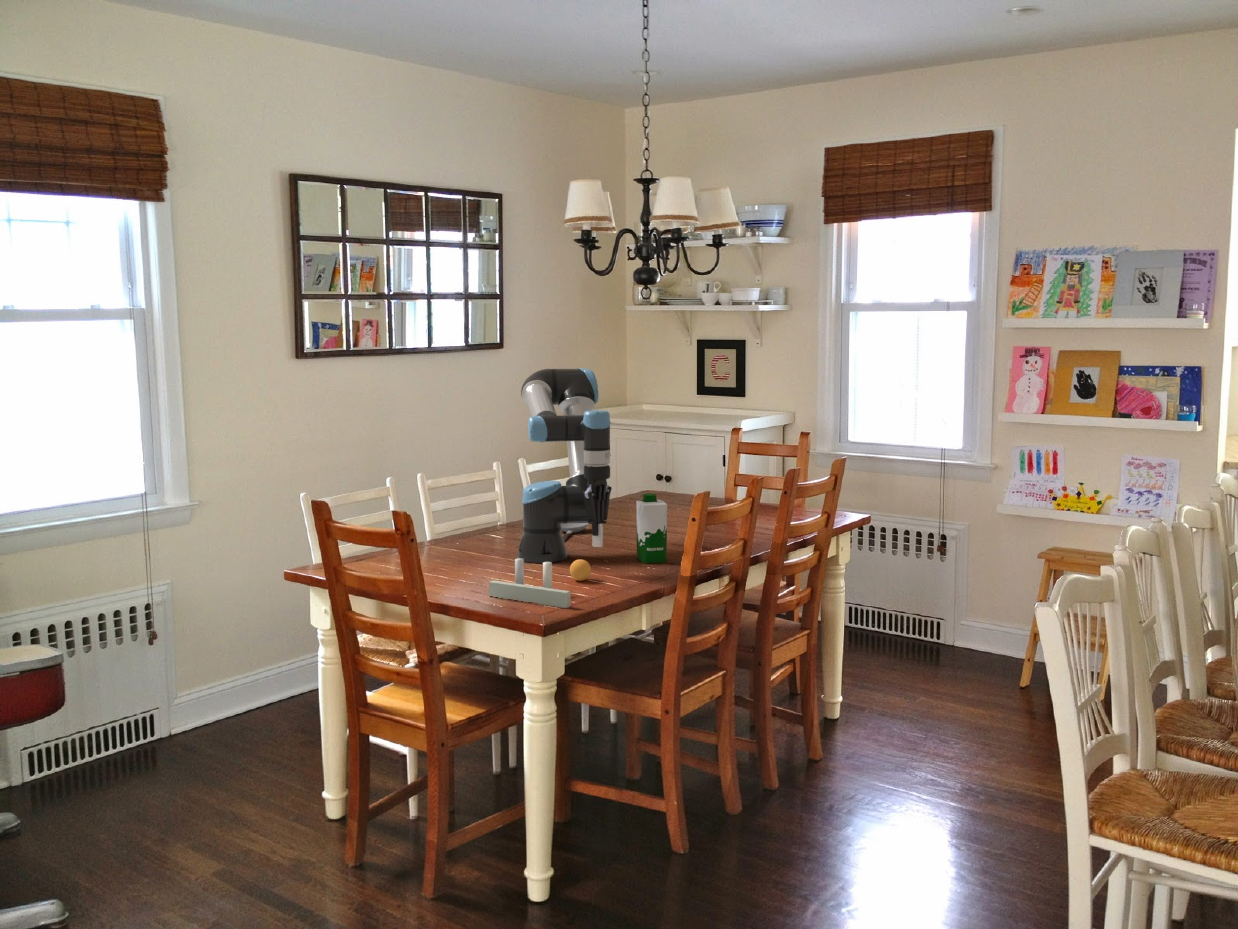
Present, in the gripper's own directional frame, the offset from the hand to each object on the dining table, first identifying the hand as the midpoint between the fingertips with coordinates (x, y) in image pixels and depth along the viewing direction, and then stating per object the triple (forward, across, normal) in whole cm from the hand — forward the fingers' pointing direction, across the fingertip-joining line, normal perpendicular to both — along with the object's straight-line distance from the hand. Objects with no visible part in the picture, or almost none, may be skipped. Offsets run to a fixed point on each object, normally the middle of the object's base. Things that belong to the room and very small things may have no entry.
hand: (597, 546), depth 316 cm
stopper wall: (+9, -35, 0) cm, 36 cm away
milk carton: (+8, +23, -6) cm, 25 cm away
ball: (+5, -9, 0) cm, 10 cm away
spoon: (+8, +40, +35) cm, 53 cm away
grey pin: (+8, -26, +9) cm, 29 cm away
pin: (+8, -26, 0) cm, 27 cm away
